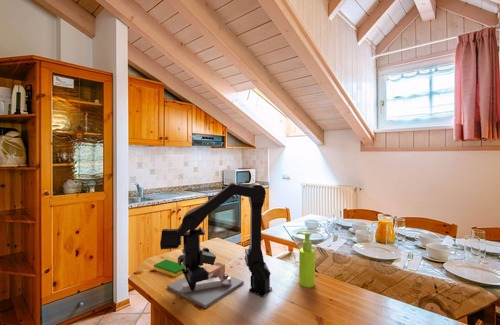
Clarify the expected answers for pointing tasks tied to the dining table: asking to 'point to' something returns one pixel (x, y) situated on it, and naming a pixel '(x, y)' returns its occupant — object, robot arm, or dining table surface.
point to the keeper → (216, 269)
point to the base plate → (205, 291)
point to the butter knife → (236, 258)
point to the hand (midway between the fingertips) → (192, 290)
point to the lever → (209, 283)
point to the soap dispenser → (306, 262)
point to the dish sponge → (169, 268)
